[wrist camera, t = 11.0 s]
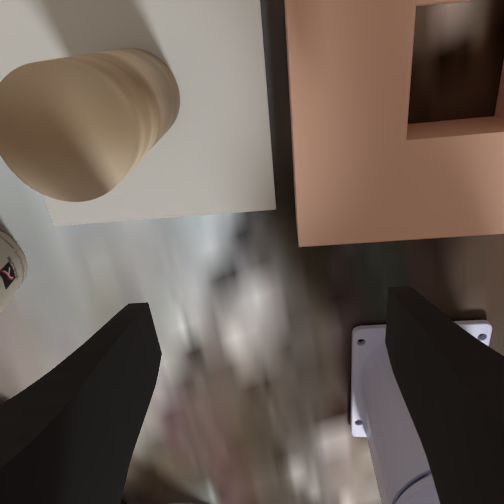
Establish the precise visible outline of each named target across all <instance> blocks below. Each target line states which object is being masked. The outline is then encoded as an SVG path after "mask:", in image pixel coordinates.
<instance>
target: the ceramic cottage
mask: <svg viewBox="0 0 504 504" xmlns="http://www.w3.org/2000/svg"><path fill="white" fill-rule="evenodd" d="M168 504H195V503H192V502H190V503H188V502H187V503H168Z"/></svg>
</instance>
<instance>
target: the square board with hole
mask: <svg viewBox="0 0 504 504" xmlns="http://www.w3.org/2000/svg"><path fill="white" fill-rule="evenodd" d="M462 1H470V0H284V8H285V27H286V45H287V64H288V82H289V101H290V119H291V137H292V156H293V174H294V193H295V211H296V225H297V234H298V243H299V247H307V246H322V245H338V244H353V243H368V242H383V241H399V240H414V239H429V238H444V237H459V236H475V235H490V234H504V61H503V67H502V73H501V79H500V85H499V91H498V97H497V104H496V110H495V116H491V117H480V118H468V119H457V120H446V121H435V122H424V123H413V124H407V123H408V109H409V95H410V82H411V68H412V54H413V40H414V26H415V13H416V7H418V6H426V5H435V4H444V3H453V2H462Z"/></svg>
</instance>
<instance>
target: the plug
mask: <svg viewBox="0 0 504 504" xmlns="http://www.w3.org/2000/svg"><path fill="white" fill-rule="evenodd" d="M179 108H180V93H179V88H178V84H177V82H176V79H175V77H174V75H173V73H172V72H171V70H170V69H169V68H168V67H167V65H166V64H165V63H164V62H163V61H162V60H161V59H159V58H158V57H157V56H155V55H154V54H152V53H150V52H148V51H145V50H142V49H137V48H123V49H117V50H110V51H103V52H97V53H90V54H84V55H77V56H70V57H64V58H57V59H51V60H44V61H37V62H32V63H28V64H25V65H22V66H20V67H18V68H16V69H14V70H13V71H11V72H10V73H9V74H7V75H6V76H5V77H4V78H3V80H2V81H1V82H0V155H1V157H2V158H3V160H4V161H5V163H6V164H7V165H8V167H9V168H10V169H11V171H12V172H13V173H14V174H15V175H16V176H17V177H18V178H19V179H20V180H22V181H23V182H24V183H25V184H27V185H28V186H29V187H31V188H32V189H34V190H36V191H37V192H39V193H41V194H43V195H45V196H48V197H50V198H53V199H57V200H61V201H67V202H84V201H90V200H93V199H96V198H99V197H101V196H103V195H105V194H106V193H108V192H109V191H111V190H112V189H113V188H114V187H115V186H116V185H117V184H118V183H119V182H120V181H121V180H122V179H123V178H124V177H125V176H126V175H127V174H128V173H129V171H130V170H131V169H132V168H133V167H134V166H135V165H136V164H137V163H138V162H139V161H140V160H141V159H142V158H143V157H144V156H145V154H146V153H147V152H148V151H149V150H150V149H151V148H152V147H153V146H154V145H155V144H156V143H157V142H158V141H159V140H160V139H161V137H162V136H163V135H164V134H165V133H166V132H167V131H168V130H169V129H170V128H171V126H172V125H173V124H174V122H175V120H176V118H177V116H178V112H179Z"/></svg>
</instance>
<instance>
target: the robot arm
mask: <svg viewBox="0 0 504 504" xmlns="http://www.w3.org/2000/svg"><path fill="white" fill-rule="evenodd" d="M491 332H492V326H491V325H490V323H489V322H488V321H486V320H467V321H452V320H451V319H450V318H449V317H447V316H446V315H445V314H444V313H442V312H441V311H440V310H439V309H437V308H436V307H435V306H434V305H432V304H431V303H430V302H429V301H428V300H426V299H425V298H424V297H423V296H422V295H420V294H419V293H418V292H417V291H416V290H414V289H413V288H412V287H410V286H407V287H391V288H389V291H388V306H387V320H386V324H385V325H364V326H357V327H355V328H354V329H353V331H352V364H351V427H350V429H351V433H352V435H353V436H355V437H367V440H368V444H369V449H370V453H371V458H372V462H373V466H374V471H375V475H376V480H377V484H378V489H379V493H380V497H381V502H382V504H504V356H502V355H501V354H499V353H498V352H496V351H495V350H493V349H491V348H490V347H489V341H490V337H491ZM480 334H483V335H481V336H478V335H480ZM359 339H364V340H363V341H361V342H359V341H358V340H359ZM161 355H162V353H161V349H160V345H159V342H158V338H157V334H156V331H155V327H154V323H153V319H152V316H151V312H150V308H149V304H148V303H132V304H128V305H127V306H125V307H124V308H123V309H122V310H121V311H119V312H118V313H117V314H116V315H115V316H114V317H113V318H112V319H111V320H110V321H108V322H107V323H106V324H105V325H104V326H103V327H102V328H101V329H100V330H99V331H97V332H96V333H95V334H94V335H93V336H92V337H91V338H90V339H88V340H87V341H86V342H85V343H84V344H83V345H82V346H81V347H79V348H78V349H77V350H76V351H74V352H73V353H72V354H71V355H70V356H68V357H67V358H66V359H65V360H63V361H62V362H61V363H60V364H59V365H57V366H56V367H55V368H54V369H52V370H51V371H50V372H48V373H47V374H46V375H44V376H43V377H42V378H40V379H39V380H37V381H36V382H35V383H33V384H32V385H30V386H29V387H27V388H26V389H25V390H23V391H22V392H20V393H19V394H17V395H16V396H14V397H12V398H11V399H9V400H7V401H6V402H4V403H2V404H1V405H0V504H120V503H121V498H122V494H123V490H124V485H125V481H126V476H127V472H128V468H129V464H130V461H131V457H132V454H133V451H134V448H135V445H136V442H137V439H138V436H139V433H140V430H141V427H142V424H143V421H144V418H145V415H146V412H147V409H148V406H149V403H150V400H151V397H152V394H153V391H154V388H155V385H156V381H157V376H158V371H159V366H160V360H161ZM357 420H358V421H357Z"/></svg>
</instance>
